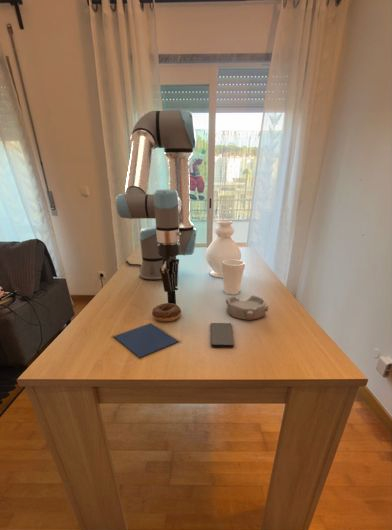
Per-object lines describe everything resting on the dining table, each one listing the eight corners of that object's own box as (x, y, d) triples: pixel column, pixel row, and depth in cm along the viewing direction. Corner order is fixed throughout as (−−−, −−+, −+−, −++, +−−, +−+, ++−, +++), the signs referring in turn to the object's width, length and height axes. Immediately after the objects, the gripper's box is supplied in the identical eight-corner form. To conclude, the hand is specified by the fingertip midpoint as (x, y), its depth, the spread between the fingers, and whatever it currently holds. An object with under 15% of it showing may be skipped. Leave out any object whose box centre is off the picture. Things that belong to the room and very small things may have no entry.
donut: (182, 322, 100) (182, 312, 98) (152, 324, 99) (151, 314, 96) (179, 310, 109) (179, 300, 107) (152, 311, 108) (151, 301, 105)
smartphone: (230, 322, 98) (234, 345, 85) (230, 325, 98) (233, 347, 85) (210, 322, 98) (211, 344, 85) (210, 324, 98) (210, 347, 85)
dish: (220, 309, 109) (221, 297, 107) (251, 303, 114) (252, 291, 111) (240, 325, 98) (241, 311, 95) (273, 318, 103) (275, 305, 100)
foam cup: (241, 296, 120) (244, 266, 113) (219, 295, 122) (221, 264, 115) (242, 288, 128) (245, 259, 121) (222, 287, 130) (223, 258, 123)
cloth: (113, 337, 91) (113, 336, 91) (150, 324, 99) (150, 323, 99) (139, 358, 81) (139, 357, 81) (178, 341, 89) (178, 341, 88)
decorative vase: (230, 267, 156) (233, 217, 143) (245, 277, 142) (250, 223, 128) (200, 270, 151) (200, 219, 138) (212, 281, 137) (213, 225, 124)
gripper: (172, 247, 89) (175, 315, 102) (185, 239, 99) (186, 301, 112) (150, 246, 91) (156, 313, 103) (165, 237, 101) (169, 299, 114)
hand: (172, 307), depth 108 cm, fingers closed
